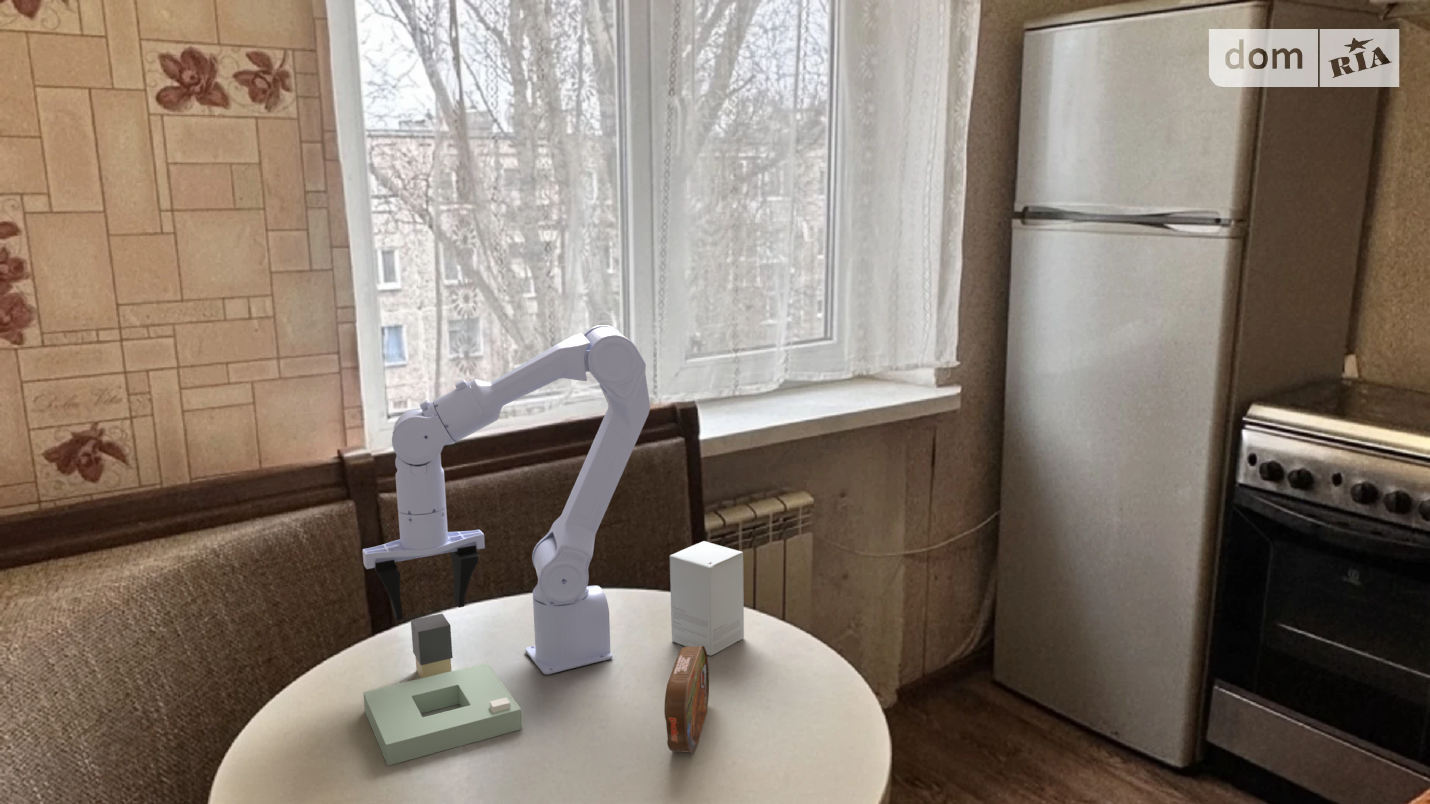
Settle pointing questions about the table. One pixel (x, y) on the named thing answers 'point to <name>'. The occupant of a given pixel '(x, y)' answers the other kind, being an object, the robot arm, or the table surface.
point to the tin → (687, 699)
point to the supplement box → (707, 596)
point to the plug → (432, 645)
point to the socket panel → (417, 736)
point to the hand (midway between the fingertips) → (429, 610)
